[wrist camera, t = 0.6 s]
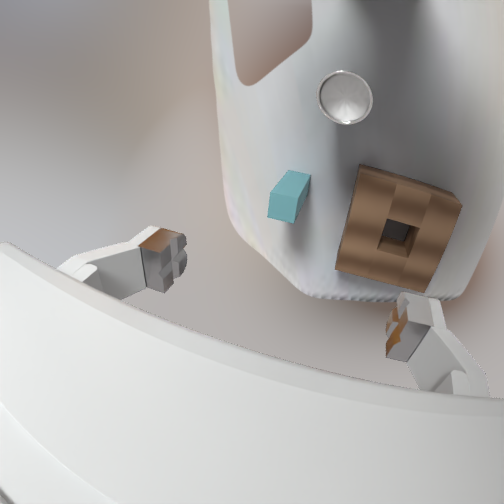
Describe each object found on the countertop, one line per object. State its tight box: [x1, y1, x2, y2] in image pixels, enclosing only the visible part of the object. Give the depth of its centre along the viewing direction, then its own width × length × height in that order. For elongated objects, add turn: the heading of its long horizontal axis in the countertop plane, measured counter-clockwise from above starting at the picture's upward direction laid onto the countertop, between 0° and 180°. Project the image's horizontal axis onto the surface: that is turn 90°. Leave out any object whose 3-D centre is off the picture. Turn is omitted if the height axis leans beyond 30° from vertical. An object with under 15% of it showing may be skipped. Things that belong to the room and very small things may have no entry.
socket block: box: [335, 164, 462, 293], centre depth 46 cm, size 18×18×6 cm
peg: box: [267, 170, 311, 224], centre depth 46 cm, size 4×4×12 cm
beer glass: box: [316, 71, 373, 125], centre depth 34 cm, size 7×7×15 cm
